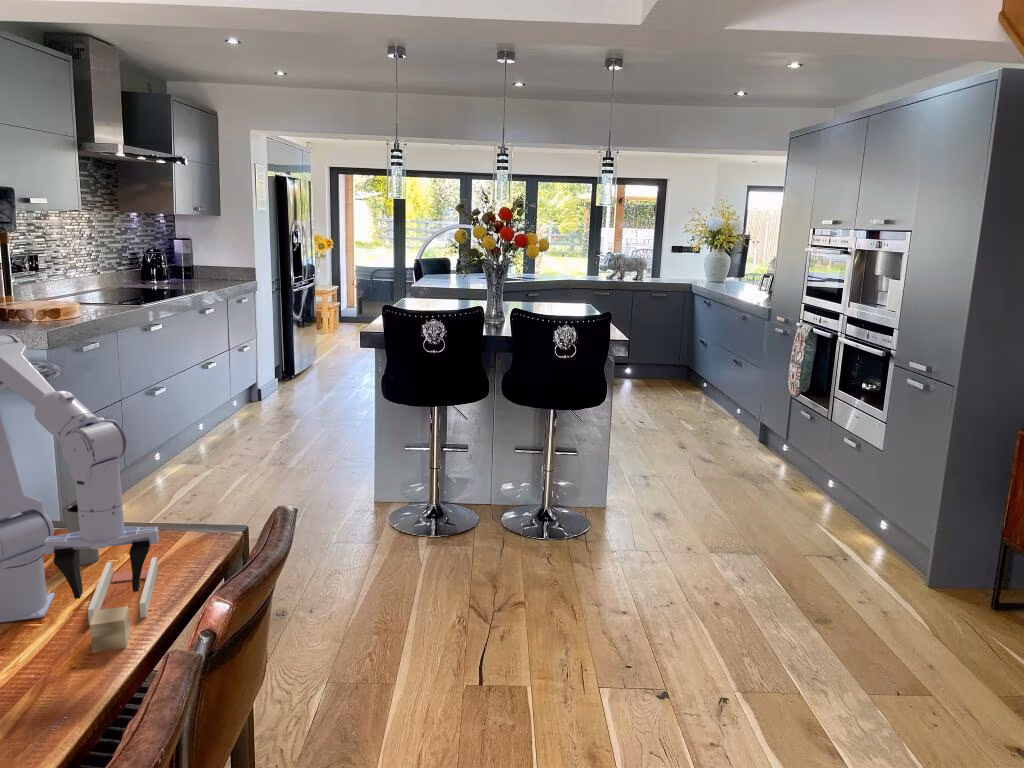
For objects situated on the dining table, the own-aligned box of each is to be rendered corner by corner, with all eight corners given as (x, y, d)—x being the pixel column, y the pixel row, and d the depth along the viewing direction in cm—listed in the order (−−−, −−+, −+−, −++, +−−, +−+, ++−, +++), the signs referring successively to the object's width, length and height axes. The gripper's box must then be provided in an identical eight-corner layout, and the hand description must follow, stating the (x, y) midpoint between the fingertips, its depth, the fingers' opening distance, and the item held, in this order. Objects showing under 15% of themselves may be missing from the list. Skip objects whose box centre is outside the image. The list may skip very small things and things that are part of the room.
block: (92, 653, 112) (89, 624, 111) (97, 637, 116) (95, 610, 115) (126, 648, 113) (124, 620, 112) (130, 633, 118) (128, 606, 117)
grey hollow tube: (90, 565, 140) (85, 512, 138) (65, 565, 140) (60, 511, 138) (104, 555, 144) (99, 503, 142) (80, 554, 144) (75, 502, 142)
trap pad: (111, 583, 133) (111, 581, 133) (114, 574, 137) (114, 572, 136) (149, 578, 135) (149, 577, 135) (151, 570, 138) (151, 568, 138)
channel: (88, 624, 120) (87, 609, 119) (108, 575, 136) (106, 562, 136) (146, 617, 122) (145, 602, 122) (157, 569, 139) (157, 556, 138)
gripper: (35, 520, 105) (45, 611, 108) (152, 510, 110) (158, 598, 112) (48, 502, 112) (56, 589, 114) (157, 493, 116) (163, 577, 119)
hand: (107, 592), depth 114 cm, fingers open, 7 cm apart
